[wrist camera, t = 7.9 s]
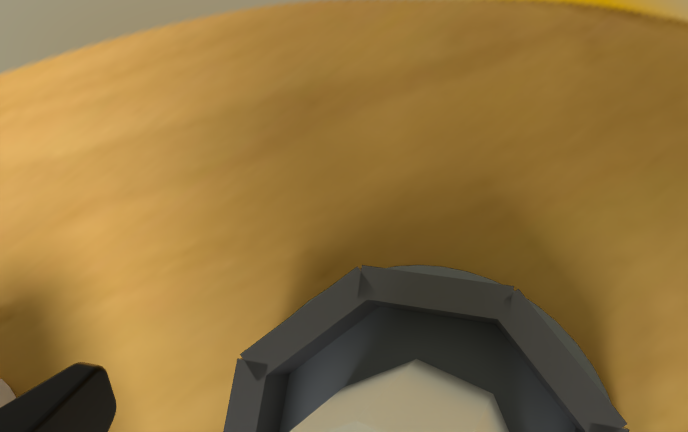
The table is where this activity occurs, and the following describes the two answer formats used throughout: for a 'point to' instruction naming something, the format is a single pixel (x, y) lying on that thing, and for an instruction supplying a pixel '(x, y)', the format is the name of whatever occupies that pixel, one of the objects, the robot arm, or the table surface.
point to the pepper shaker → (408, 404)
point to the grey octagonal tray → (421, 351)
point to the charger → (5, 393)
